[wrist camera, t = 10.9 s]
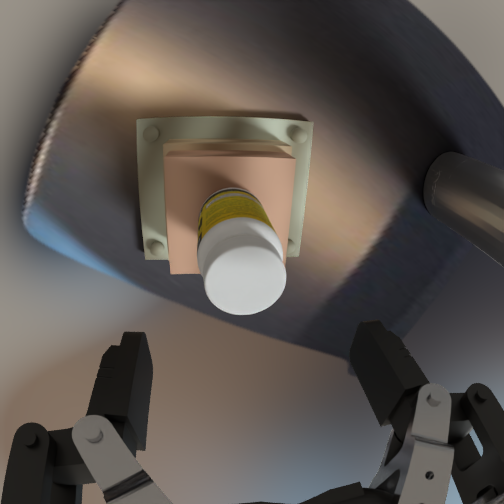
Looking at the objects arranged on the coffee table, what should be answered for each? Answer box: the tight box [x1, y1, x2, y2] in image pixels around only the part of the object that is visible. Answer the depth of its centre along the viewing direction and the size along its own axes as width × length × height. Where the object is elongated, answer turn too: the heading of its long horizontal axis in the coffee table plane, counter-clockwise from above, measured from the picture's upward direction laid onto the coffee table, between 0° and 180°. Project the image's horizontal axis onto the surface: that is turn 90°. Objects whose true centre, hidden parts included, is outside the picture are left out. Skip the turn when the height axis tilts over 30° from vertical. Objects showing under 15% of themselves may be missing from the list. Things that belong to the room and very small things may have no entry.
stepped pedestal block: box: [136, 116, 314, 274], centre depth 25 cm, size 16×14×8 cm
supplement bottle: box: [197, 188, 286, 315], centre depth 18 cm, size 5×5×8 cm
